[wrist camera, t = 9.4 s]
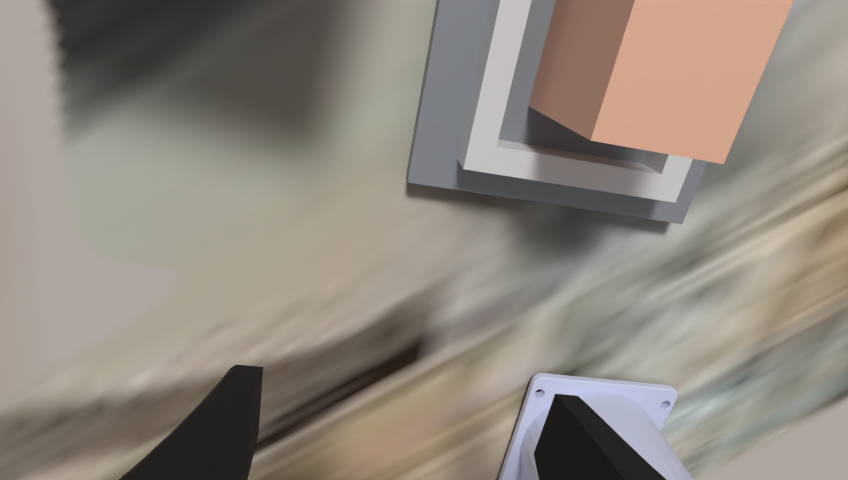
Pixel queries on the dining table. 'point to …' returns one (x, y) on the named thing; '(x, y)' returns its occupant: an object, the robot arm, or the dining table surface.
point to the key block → (656, 70)
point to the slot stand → (524, 124)
